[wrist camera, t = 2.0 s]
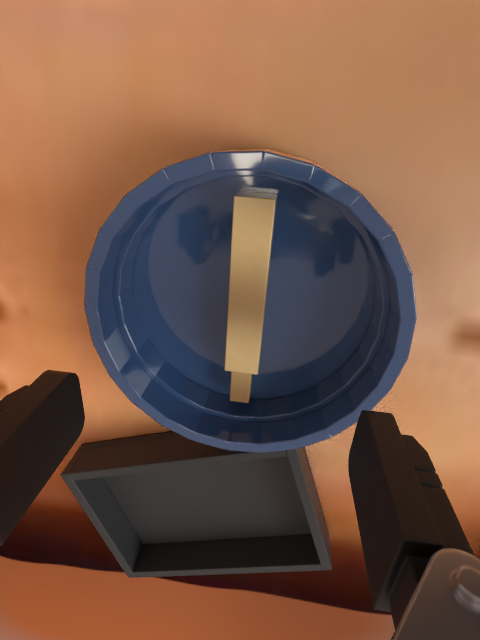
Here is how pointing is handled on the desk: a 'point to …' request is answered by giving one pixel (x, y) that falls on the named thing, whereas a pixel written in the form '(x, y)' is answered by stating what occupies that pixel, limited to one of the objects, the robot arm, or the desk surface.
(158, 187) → the bowl
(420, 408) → the desk surface
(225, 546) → the pen tray
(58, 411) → the robot arm
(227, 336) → the wooden stick
